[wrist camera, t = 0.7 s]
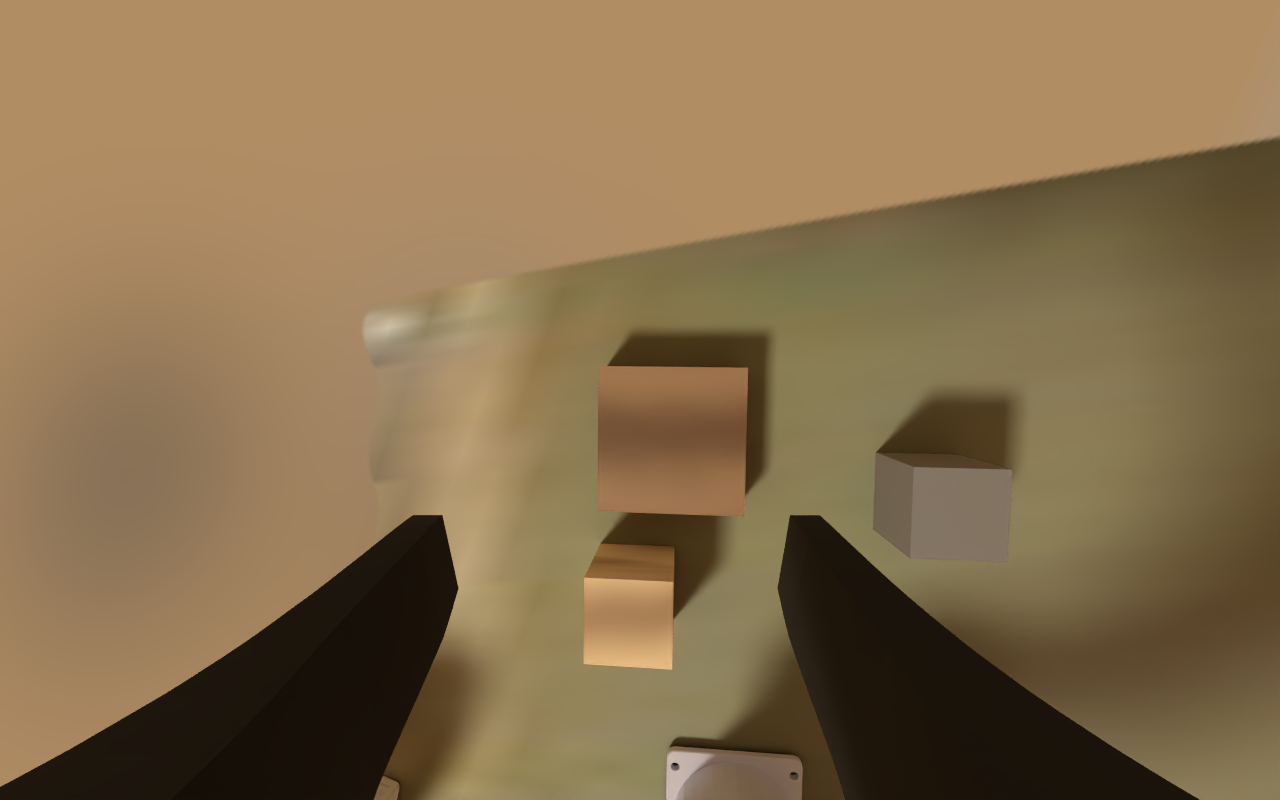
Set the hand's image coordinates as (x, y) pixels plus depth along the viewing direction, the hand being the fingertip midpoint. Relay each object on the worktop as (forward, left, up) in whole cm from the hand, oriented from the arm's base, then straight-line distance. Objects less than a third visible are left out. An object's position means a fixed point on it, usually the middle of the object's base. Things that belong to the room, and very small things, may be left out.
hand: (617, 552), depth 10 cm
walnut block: (0, -1, -19) cm, 19 cm away
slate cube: (-3, -15, -19) cm, 24 cm away
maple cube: (-9, +1, -19) cm, 21 cm away
